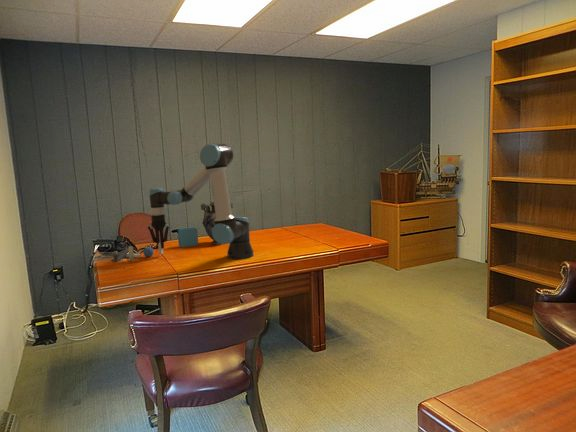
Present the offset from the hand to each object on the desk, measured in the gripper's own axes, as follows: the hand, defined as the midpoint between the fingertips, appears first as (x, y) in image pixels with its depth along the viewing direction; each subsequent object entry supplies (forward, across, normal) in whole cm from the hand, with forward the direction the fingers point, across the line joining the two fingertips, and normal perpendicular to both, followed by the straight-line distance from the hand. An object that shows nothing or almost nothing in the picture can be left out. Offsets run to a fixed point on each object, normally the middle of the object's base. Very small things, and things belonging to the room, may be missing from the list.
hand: (161, 253), depth 252 cm
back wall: (+2, +23, 0) cm, 23 cm away
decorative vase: (+2, -27, -37) cm, 46 cm away
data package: (+2, -8, -30) cm, 31 cm away
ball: (-1, +8, 0) cm, 8 cm away
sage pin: (+2, +14, +9) cm, 17 cm away
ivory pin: (+1, +12, 0) cm, 12 cm away
